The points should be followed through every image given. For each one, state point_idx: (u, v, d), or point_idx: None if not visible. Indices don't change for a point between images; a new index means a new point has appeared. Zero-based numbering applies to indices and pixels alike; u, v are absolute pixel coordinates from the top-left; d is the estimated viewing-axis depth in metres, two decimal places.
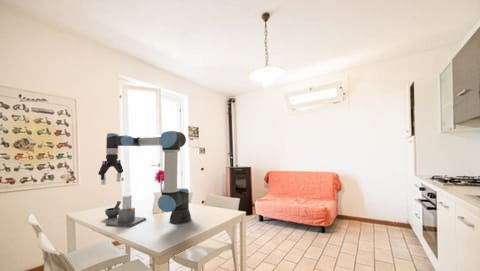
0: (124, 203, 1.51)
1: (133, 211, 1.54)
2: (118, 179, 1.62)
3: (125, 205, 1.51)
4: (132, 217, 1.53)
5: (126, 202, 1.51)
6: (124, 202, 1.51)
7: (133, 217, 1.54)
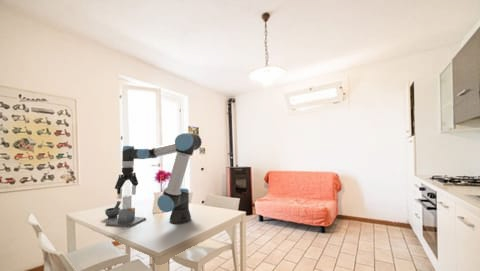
0: (124, 203, 1.51)
1: (133, 211, 1.54)
2: (133, 192, 1.60)
3: (125, 205, 1.51)
4: (132, 217, 1.53)
5: (126, 202, 1.51)
6: (124, 202, 1.51)
7: (133, 217, 1.54)
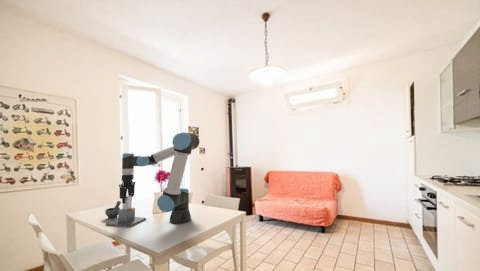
0: None
1: (133, 211, 1.54)
2: None
3: None
4: (132, 217, 1.53)
5: None
6: None
7: (133, 217, 1.54)
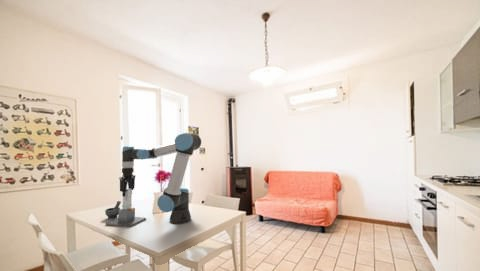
0: None
1: (133, 211, 1.54)
2: None
3: None
4: (132, 217, 1.53)
5: None
6: None
7: (133, 217, 1.54)
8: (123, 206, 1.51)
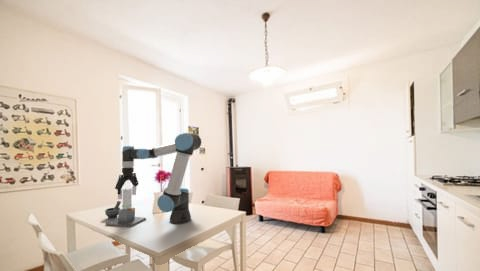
0: (124, 196, 1.52)
1: (133, 211, 1.54)
2: (133, 192, 1.60)
3: (125, 198, 1.51)
4: (132, 217, 1.53)
5: (126, 195, 1.51)
6: (124, 195, 1.52)
7: (133, 217, 1.54)
8: (123, 206, 1.51)
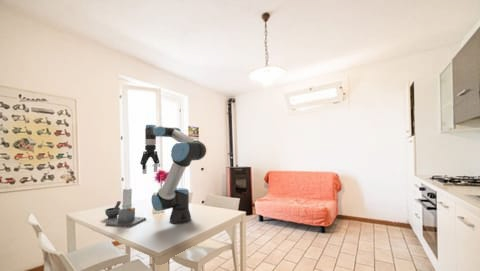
0: (124, 196, 1.52)
1: (133, 211, 1.54)
2: (155, 169, 1.67)
3: (125, 198, 1.51)
4: (132, 217, 1.53)
5: (126, 195, 1.51)
6: (124, 195, 1.52)
7: (133, 217, 1.54)
8: (123, 206, 1.51)
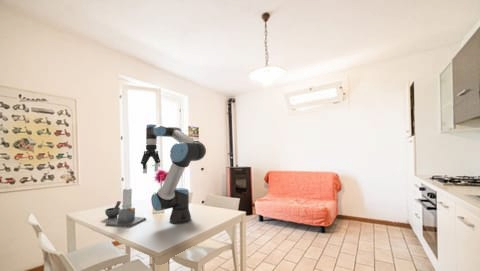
0: (124, 196, 1.52)
1: (133, 211, 1.54)
2: (156, 169, 1.68)
3: (125, 198, 1.51)
4: (132, 217, 1.53)
5: (126, 195, 1.51)
6: (124, 195, 1.52)
7: (133, 217, 1.54)
8: (123, 206, 1.51)
